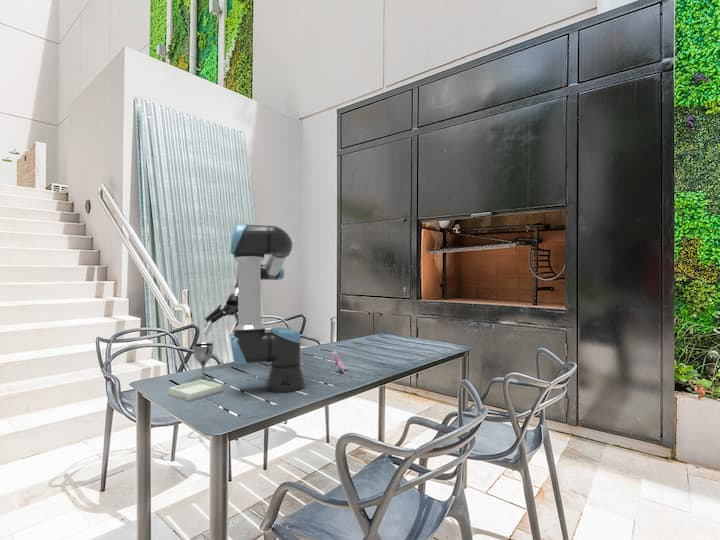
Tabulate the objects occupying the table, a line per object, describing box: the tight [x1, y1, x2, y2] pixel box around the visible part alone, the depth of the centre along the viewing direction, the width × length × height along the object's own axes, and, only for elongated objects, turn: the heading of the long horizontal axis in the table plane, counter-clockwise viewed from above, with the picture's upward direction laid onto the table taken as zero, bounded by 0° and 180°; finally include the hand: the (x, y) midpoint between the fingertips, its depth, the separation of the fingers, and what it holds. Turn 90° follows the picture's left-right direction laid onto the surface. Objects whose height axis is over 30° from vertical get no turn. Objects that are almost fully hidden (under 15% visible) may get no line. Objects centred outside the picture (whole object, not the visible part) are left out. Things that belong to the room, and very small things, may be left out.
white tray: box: [168, 380, 224, 402], centre depth 148 cm, size 14×14×2 cm
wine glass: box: [192, 342, 214, 382], centre depth 165 cm, size 8×8×15 cm
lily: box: [328, 348, 348, 374], centre depth 179 cm, size 12×12×10 cm
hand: (217, 334), depth 175 cm, fingers open, 13 cm apart
